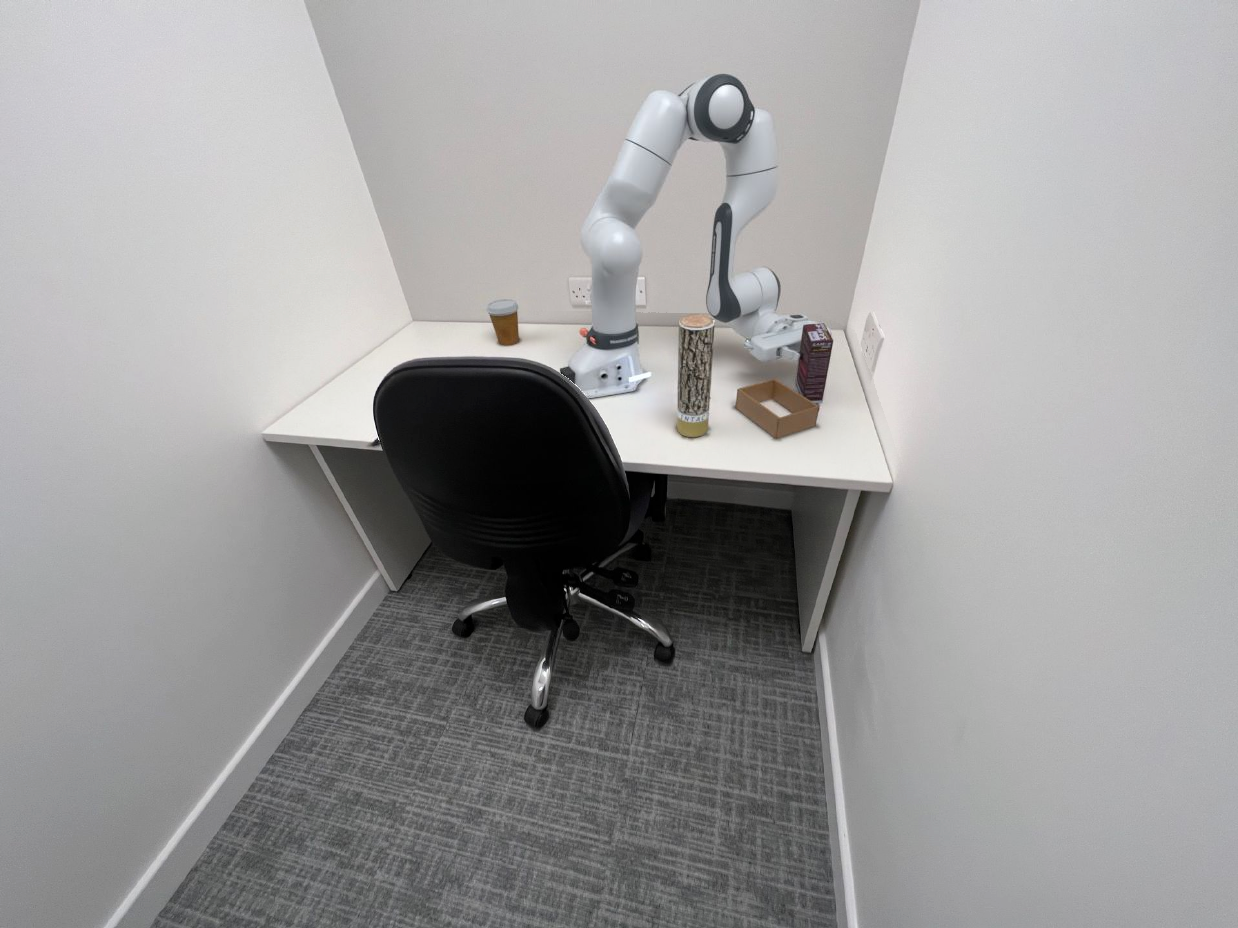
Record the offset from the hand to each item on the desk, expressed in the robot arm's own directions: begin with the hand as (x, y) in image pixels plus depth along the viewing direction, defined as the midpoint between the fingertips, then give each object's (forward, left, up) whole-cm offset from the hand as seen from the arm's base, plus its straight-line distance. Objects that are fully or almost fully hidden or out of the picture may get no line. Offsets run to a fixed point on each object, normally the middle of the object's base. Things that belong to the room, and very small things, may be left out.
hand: (813, 354), depth 112 cm
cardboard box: (-12, -4, -11) cm, 17 cm away
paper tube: (-31, 0, -11) cm, 33 cm away
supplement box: (0, -1, -10) cm, 10 cm away
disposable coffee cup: (-55, +72, -11) cm, 92 cm away
